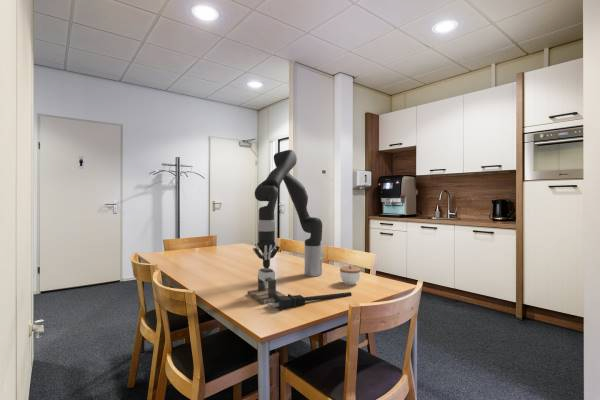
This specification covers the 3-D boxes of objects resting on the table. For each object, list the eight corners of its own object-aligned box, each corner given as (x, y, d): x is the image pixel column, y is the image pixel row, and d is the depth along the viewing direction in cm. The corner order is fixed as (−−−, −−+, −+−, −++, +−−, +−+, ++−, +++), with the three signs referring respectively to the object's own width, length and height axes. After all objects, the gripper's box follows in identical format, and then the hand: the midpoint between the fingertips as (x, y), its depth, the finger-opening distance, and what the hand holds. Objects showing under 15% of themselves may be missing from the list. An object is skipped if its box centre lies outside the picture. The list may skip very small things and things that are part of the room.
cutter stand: (247, 294, 148) (247, 275, 148) (270, 290, 154) (270, 271, 154) (261, 304, 135) (261, 283, 134) (286, 299, 141) (286, 279, 141)
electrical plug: (262, 306, 133) (262, 294, 133) (344, 296, 151) (345, 286, 151) (269, 313, 125) (270, 300, 125) (355, 302, 143) (356, 291, 143)
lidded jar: (361, 281, 170) (361, 263, 170) (359, 287, 160) (359, 268, 160) (341, 279, 173) (341, 262, 173) (338, 285, 163) (338, 267, 163)
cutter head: (258, 284, 146) (258, 268, 146) (268, 283, 149) (268, 267, 149) (264, 288, 140) (264, 271, 140) (274, 287, 143) (274, 270, 143)
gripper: (275, 228, 151) (275, 264, 151) (249, 229, 144) (249, 267, 144) (283, 229, 144) (283, 267, 145) (256, 231, 137) (256, 271, 138)
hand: (266, 267), depth 144 cm, fingers closed
